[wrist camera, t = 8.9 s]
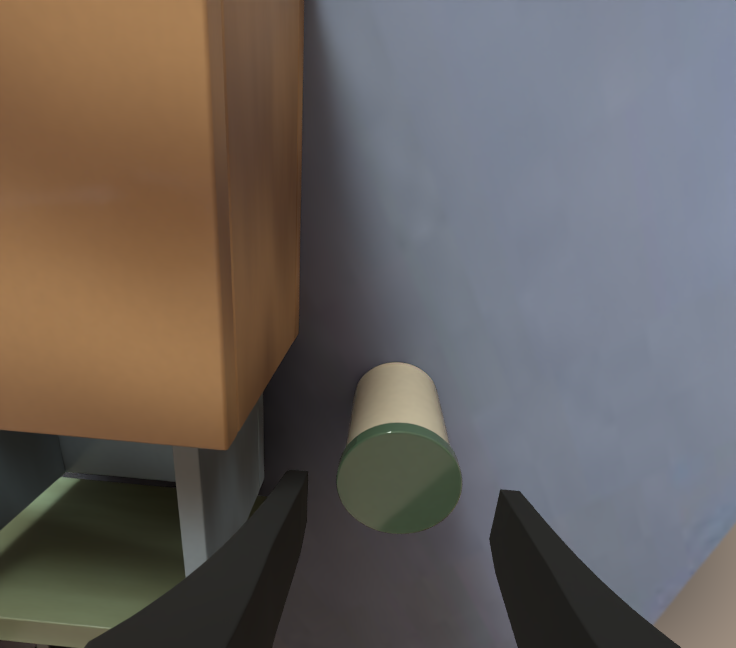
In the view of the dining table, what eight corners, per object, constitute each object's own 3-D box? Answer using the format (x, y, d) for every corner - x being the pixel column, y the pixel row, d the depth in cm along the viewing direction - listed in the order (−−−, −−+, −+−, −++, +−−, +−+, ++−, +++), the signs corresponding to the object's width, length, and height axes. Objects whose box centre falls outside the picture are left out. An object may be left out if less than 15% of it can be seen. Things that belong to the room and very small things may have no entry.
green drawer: (280, 580, 22) (236, 741, 16) (76, 560, 22) (-49, 710, 16) (280, 264, 16) (212, 316, 10) (6, 242, 17) (-231, 278, 10)
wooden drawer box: (298, 334, 18) (227, 452, 10) (27, 310, 19) (-251, 408, 11) (305, -54, 14) (185, -396, 6) (-56, -77, 14) (-667, -436, 6)
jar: (395, 453, 20) (397, 553, 15) (332, 399, 19) (310, 484, 14) (460, 400, 19) (489, 488, 14) (396, 340, 18) (399, 407, 13)
